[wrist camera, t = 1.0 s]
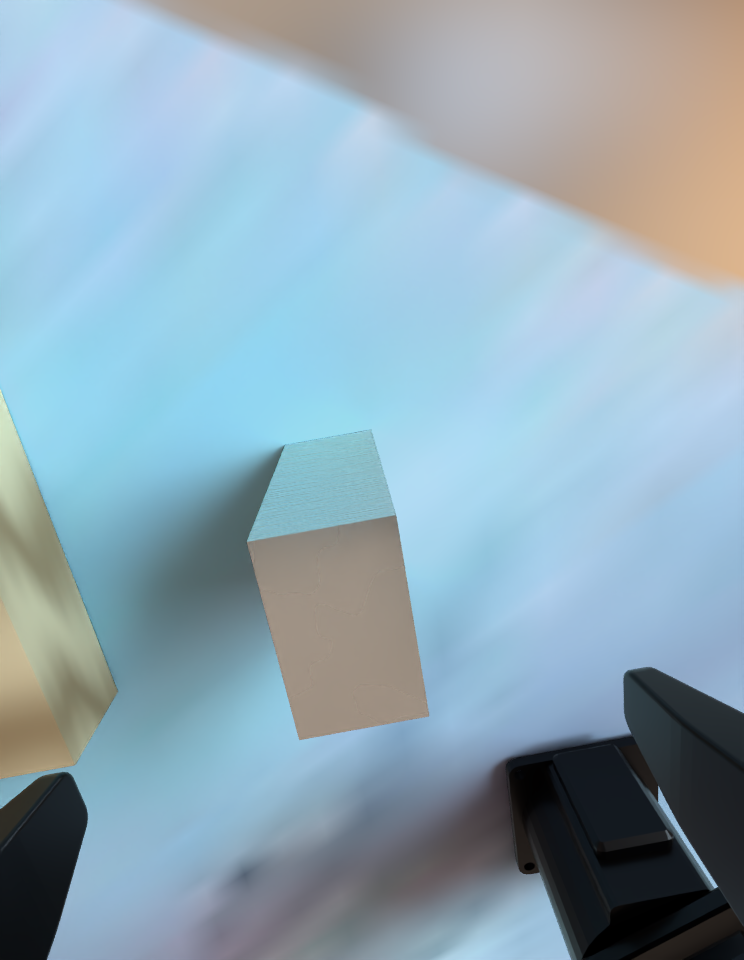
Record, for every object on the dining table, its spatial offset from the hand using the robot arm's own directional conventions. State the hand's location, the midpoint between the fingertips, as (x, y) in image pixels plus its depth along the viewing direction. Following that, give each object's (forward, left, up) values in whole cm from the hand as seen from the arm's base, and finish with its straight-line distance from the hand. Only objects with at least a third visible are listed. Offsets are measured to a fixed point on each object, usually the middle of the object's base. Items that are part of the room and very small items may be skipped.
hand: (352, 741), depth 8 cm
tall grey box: (0, 0, -11) cm, 11 cm away
